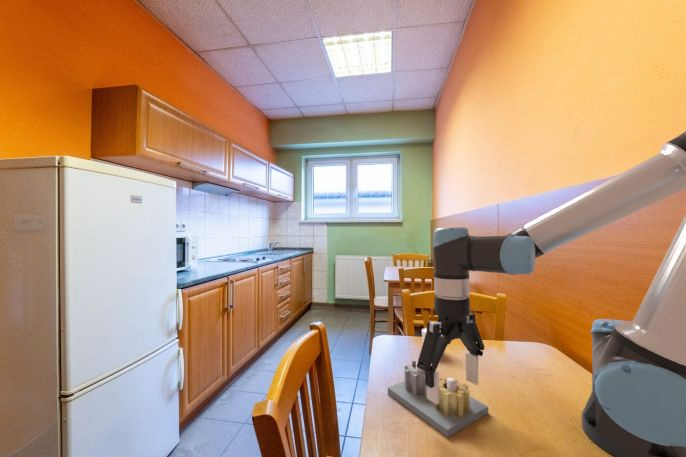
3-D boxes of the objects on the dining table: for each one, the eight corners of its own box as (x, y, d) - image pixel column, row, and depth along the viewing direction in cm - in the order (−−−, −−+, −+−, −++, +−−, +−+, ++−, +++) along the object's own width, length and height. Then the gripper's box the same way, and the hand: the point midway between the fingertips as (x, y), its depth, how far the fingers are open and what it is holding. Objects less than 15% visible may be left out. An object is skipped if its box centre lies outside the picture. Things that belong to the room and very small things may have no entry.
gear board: (488, 413, 64) (488, 379, 64) (447, 437, 57) (447, 399, 57) (426, 377, 80) (426, 351, 80) (387, 393, 72) (387, 363, 72)
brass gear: (476, 409, 63) (476, 389, 63) (454, 422, 59) (454, 400, 59) (448, 393, 70) (447, 374, 70) (426, 403, 66) (426, 383, 66)
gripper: (470, 286, 74) (472, 369, 74) (398, 300, 61) (400, 400, 61) (499, 291, 68) (501, 381, 68) (425, 308, 55) (428, 420, 54)
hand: (453, 391), depth 64 cm, fingers open, 13 cm apart
